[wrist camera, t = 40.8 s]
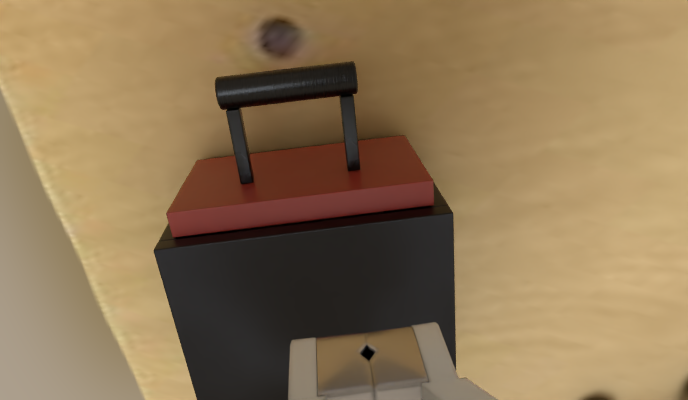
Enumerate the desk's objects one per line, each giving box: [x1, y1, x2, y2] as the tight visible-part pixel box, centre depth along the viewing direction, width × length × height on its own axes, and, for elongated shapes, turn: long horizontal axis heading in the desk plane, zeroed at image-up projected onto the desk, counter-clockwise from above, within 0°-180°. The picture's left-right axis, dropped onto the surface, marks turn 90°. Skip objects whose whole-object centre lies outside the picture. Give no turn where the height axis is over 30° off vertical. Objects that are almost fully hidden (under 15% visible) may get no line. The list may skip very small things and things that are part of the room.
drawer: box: [166, 61, 434, 238], centre depth 26 cm, size 18×11×7 cm, turn 6°
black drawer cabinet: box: [154, 182, 456, 400], centre depth 28 cm, size 15×13×9 cm
